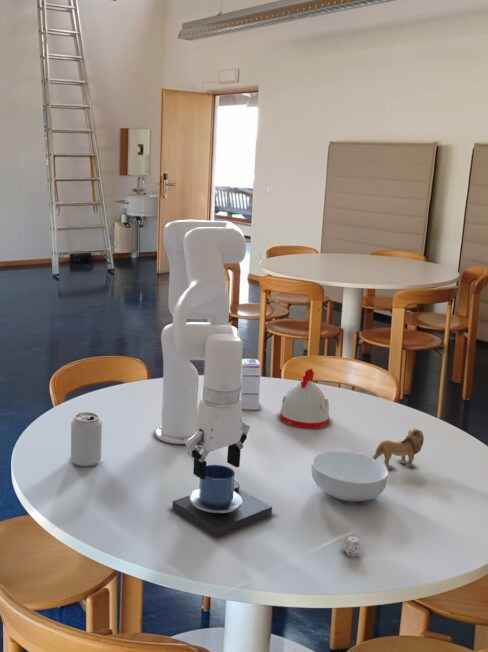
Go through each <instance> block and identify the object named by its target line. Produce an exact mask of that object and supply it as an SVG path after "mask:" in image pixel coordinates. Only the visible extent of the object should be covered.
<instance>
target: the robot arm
mask: <svg viewBox="0 0 488 652" xmlns="http://www.w3.org/2000/svg"><path fill="white" fill-rule="evenodd" d="M162 233H163V234H162V235H163V236H162V241H163V246H164V250H165V253H166V257H167V261H168V264H169V278H168V310H169V313H170V315H171V316H172V323H169V324H167V325H165V326H164V327H163V329H162V331H161V334H160V340H161V341H160V342H161V352H162V363H163V364H162V367H163V368H162V370H163V372H162V373H163V374H162V397H161V398H162V400H161V425H160V426H158V427H157V428H156V429H155V437H156V438H157V439H158V440H160V441H162V442H165V443H167V444H173V445H185V447H186V449H187V453H188V454H189V455H190V456H191V458H193V468H192V469H193V470H192V472H193V473H192V474H193V475H194V476H196V477H197V478H199V479H200V478H201V479H202V480H203V479H205V478H206V466H207V465H208V464H207V461H206V458H207V457H208V455H209V453H210V452H213V451H216V450H219V449H220V450H221V449H224V448H226V447H227V455H226V456H227V458H226V462H227V464H229V465H231V466H233V467H235V468H239V467H240V466H241V465H240V464H241V452H242V451H241V450H243V448H244V444H245V442H246V440H247V438H248V434H249V432H250V429H251V426H250V424H249V425H248V424H246V423H244V422H243V409H242V408H241V400H240V399H239V398H240V390H241V389H242V387H241V385H240V382H241V368H242V359H243V353H244V352H243V350H244V345H243V344H244V343H243V337H242V334H241V332H240V331H239V329H238V328H237V327H235V326H234V325H230V324H229V321H230V304H231V303H230V301H231V300H230V295H229V290H228V289H227V279H226V273H225V268H224V264H240V263H241V262H243V261H244V260H245V257H246V254H247V242H246V237H245V235H244V233H243V231H242V230H241V229H240V227H238V226H237V225H236V224H234V223H232V221H227V220H201V219H179V220H178V219H177V220H172V221H169V222H167V223H166V224H165V226H164V228H163V232H162ZM189 319H190V320H209V322H208V321H207V322H206V321H205V322H195V321H187V320H189ZM191 361H204V367H203V385H202V386H203V387H202V399H201V400H199V381H200V379H199V378H200V377H199V371H198V370H197V368H196V366H195V365H194V364H193V363H192V362H191ZM198 401H199V403H198ZM202 450H203V451H202ZM201 451H202V452H201Z"/></svg>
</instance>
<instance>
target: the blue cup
mask: <svg viewBox="0 0 488 652" xmlns="http://www.w3.org/2000/svg"><path fill="white" fill-rule="evenodd" d="M235 473H236V472H235V471H234V469H232V468H231V467H228V466H225V465H223V464H222V465H221V464H207V465H206V478H205V479H203V480H202V479H201V478H199V482H198V483H199V484H198V485H199V486H198V489H199V496H200V498H201V499H202V500H203V501H204V502H206V503H208V504H211V505H225V504H228V503H229V502H230V501H231V500H232V499H233V493H234V480H235Z"/></svg>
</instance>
